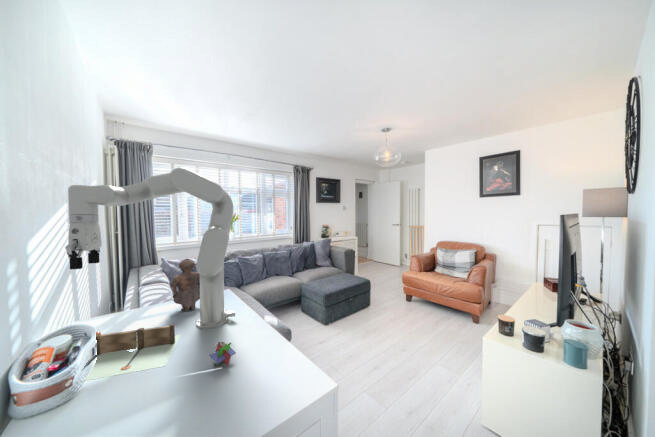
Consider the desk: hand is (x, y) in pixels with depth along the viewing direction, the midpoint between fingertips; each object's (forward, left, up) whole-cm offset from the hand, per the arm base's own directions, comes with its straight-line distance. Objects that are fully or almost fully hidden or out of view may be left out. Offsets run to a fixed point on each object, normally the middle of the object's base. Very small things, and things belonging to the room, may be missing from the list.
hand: (85, 265), depth 87 cm
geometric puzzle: (-49, +30, -28) cm, 64 cm away
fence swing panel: (-14, +12, -28) cm, 33 cm away
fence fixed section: (-25, +12, -28) cm, 40 cm away
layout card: (-20, +16, -28) cm, 38 cm away
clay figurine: (-29, -21, -28) cm, 46 cm away
